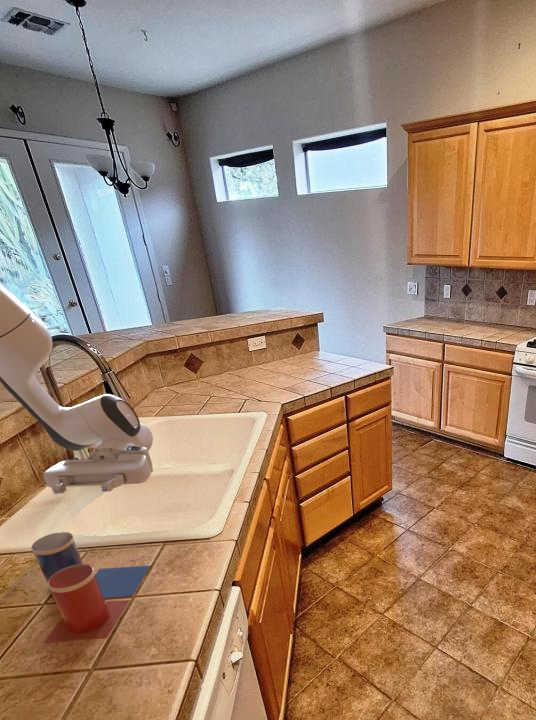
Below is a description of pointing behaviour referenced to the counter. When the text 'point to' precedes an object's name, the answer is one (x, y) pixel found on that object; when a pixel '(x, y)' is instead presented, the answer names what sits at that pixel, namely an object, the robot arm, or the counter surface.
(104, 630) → the terracotta mat
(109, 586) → the slate-blue mat
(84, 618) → the red tumbler
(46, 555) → the blue tumbler
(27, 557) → the counter surface
